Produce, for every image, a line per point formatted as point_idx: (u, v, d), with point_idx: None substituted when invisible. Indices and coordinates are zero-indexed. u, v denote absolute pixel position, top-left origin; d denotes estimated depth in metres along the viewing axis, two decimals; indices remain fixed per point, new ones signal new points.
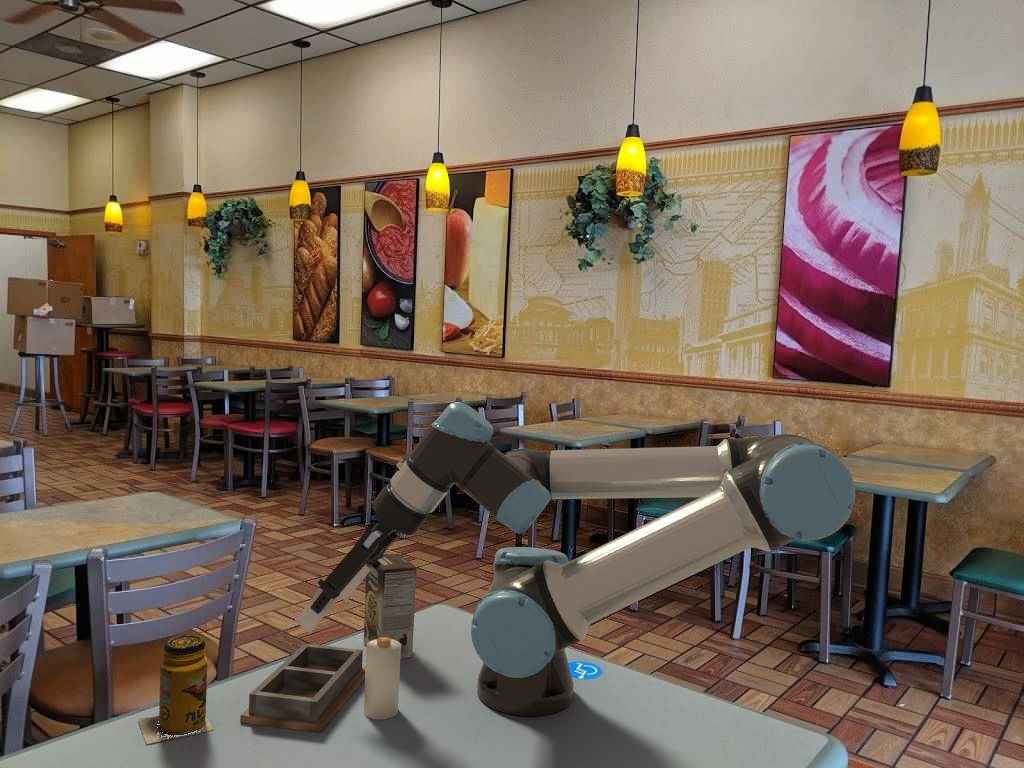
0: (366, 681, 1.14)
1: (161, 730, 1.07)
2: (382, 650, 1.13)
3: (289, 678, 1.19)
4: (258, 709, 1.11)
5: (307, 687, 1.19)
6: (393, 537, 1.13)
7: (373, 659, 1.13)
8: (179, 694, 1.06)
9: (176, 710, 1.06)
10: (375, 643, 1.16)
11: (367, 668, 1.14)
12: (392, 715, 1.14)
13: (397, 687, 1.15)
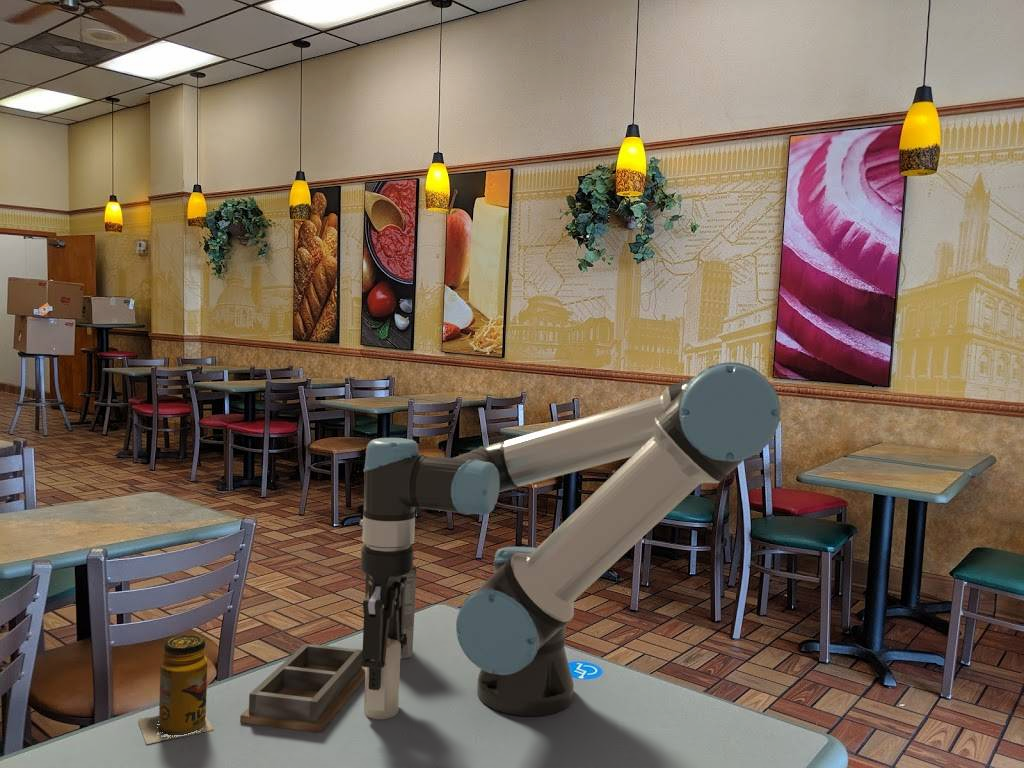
0: (366, 681, 1.14)
1: (161, 730, 1.07)
2: None
3: (289, 678, 1.19)
4: (258, 709, 1.11)
5: (307, 687, 1.19)
6: (398, 584, 1.15)
7: None
8: (179, 694, 1.06)
9: (176, 710, 1.06)
10: None
11: None
12: (392, 715, 1.14)
13: (397, 687, 1.15)
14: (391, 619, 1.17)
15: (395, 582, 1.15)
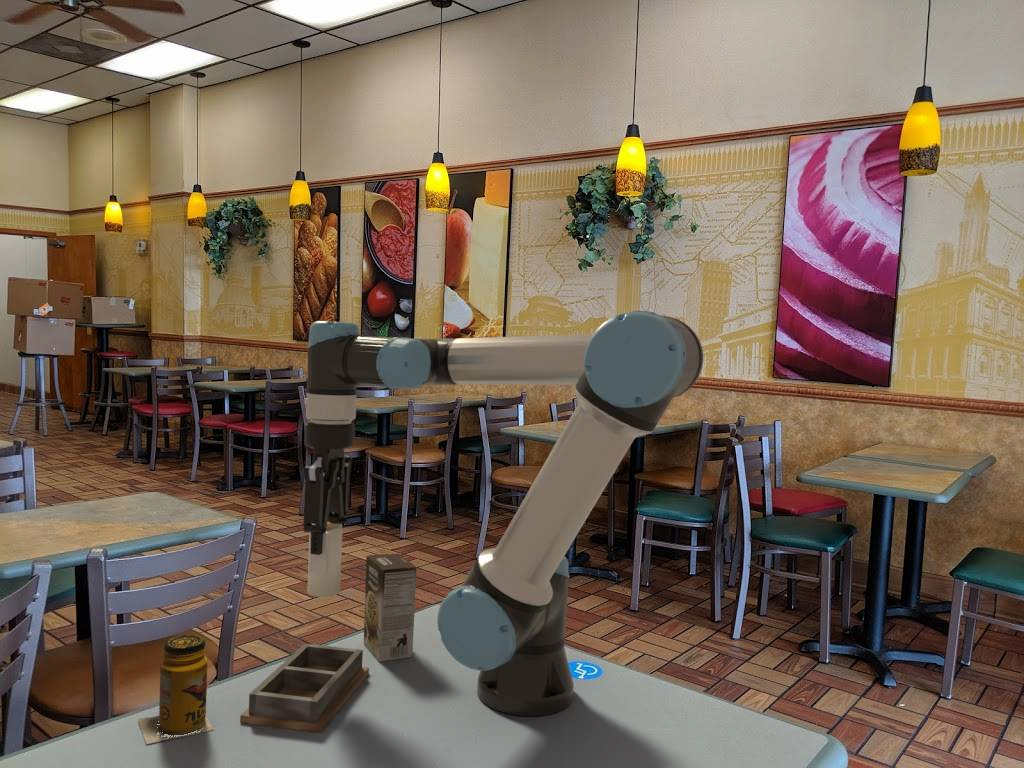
0: None
1: (161, 730, 1.07)
2: None
3: (289, 678, 1.19)
4: (258, 709, 1.11)
5: (307, 687, 1.19)
6: (340, 459, 1.23)
7: None
8: (179, 694, 1.06)
9: (176, 710, 1.06)
10: None
11: None
12: (333, 593, 1.22)
13: (338, 568, 1.22)
14: (335, 494, 1.24)
15: (338, 457, 1.23)
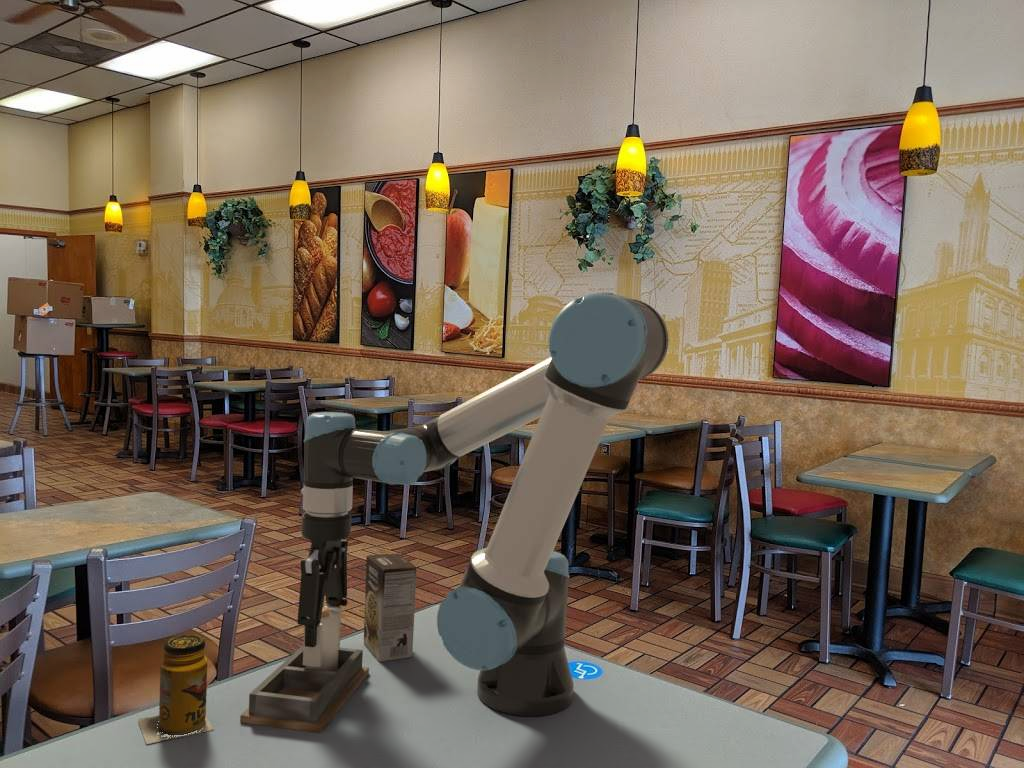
0: None
1: (161, 730, 1.07)
2: (321, 619, 1.21)
3: (289, 678, 1.19)
4: (258, 709, 1.11)
5: (307, 687, 1.19)
6: (337, 549, 1.23)
7: None
8: (179, 694, 1.06)
9: (176, 710, 1.06)
10: None
11: None
12: None
13: (336, 654, 1.23)
14: (333, 580, 1.26)
15: (334, 549, 1.23)
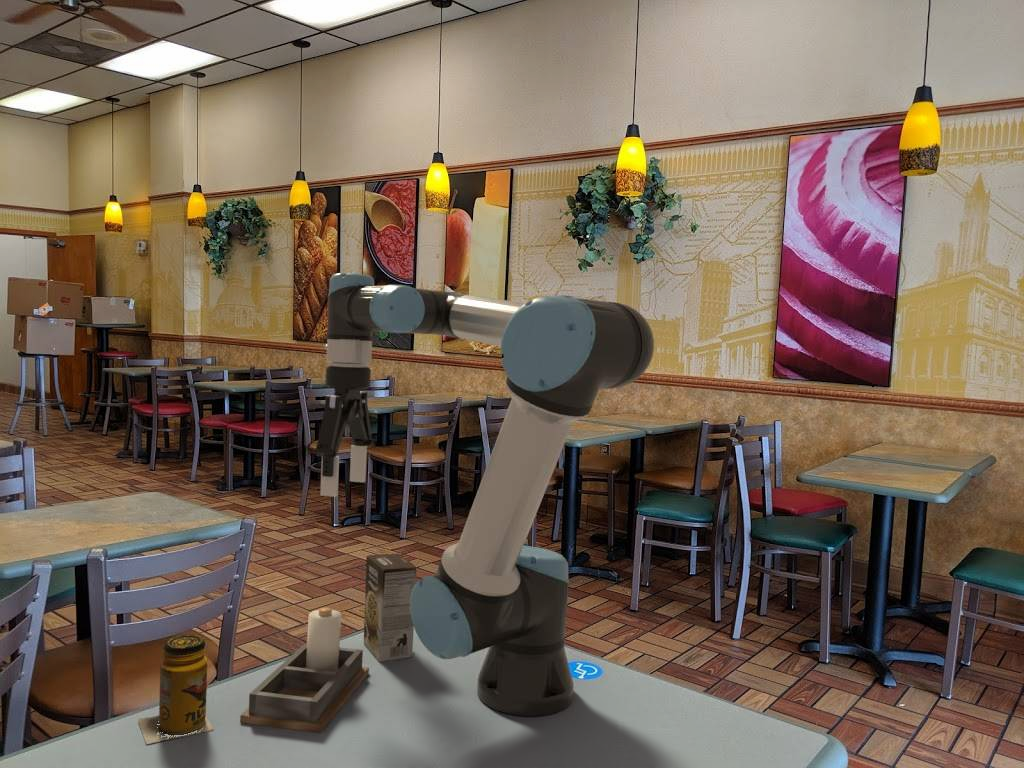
0: (308, 648, 1.22)
1: (161, 730, 1.07)
2: (323, 619, 1.22)
3: (289, 678, 1.19)
4: (258, 709, 1.11)
5: (307, 687, 1.19)
6: (357, 401, 1.35)
7: (314, 626, 1.21)
8: (179, 694, 1.06)
9: (176, 710, 1.06)
10: (317, 613, 1.24)
11: (309, 636, 1.22)
12: None
13: (337, 654, 1.23)
14: (357, 426, 1.39)
15: None
